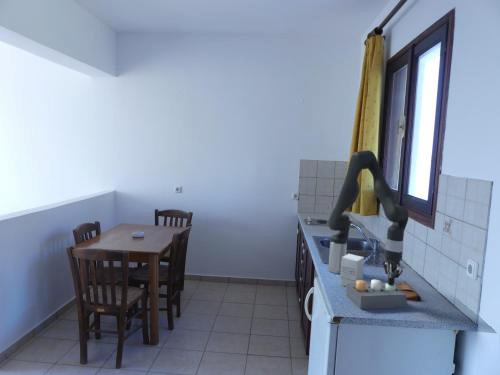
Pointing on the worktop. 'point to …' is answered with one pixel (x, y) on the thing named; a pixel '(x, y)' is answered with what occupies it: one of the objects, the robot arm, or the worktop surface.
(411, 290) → the sunglasses case
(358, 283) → the beige rounded piece
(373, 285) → the white egg-shaped piece
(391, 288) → the mint green oval piece
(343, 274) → the supplement box
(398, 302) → the grey holder tray
